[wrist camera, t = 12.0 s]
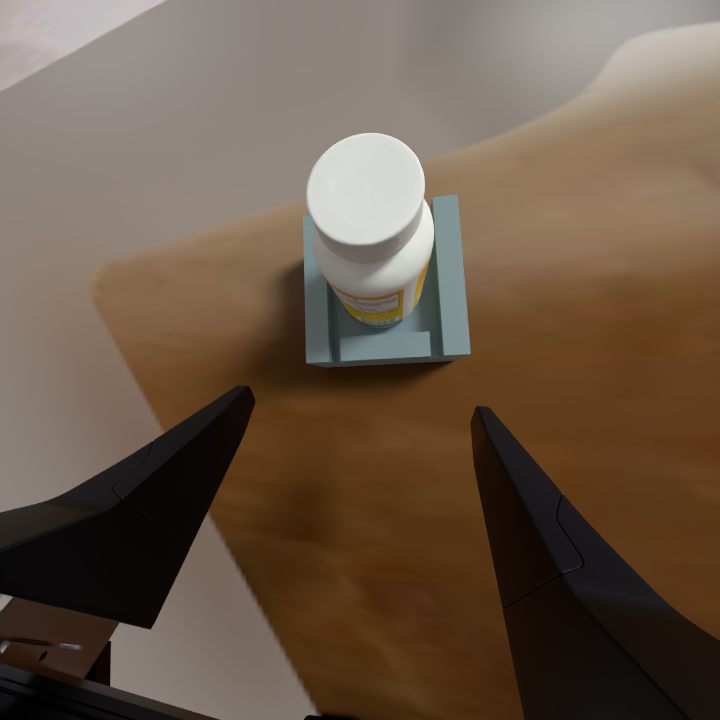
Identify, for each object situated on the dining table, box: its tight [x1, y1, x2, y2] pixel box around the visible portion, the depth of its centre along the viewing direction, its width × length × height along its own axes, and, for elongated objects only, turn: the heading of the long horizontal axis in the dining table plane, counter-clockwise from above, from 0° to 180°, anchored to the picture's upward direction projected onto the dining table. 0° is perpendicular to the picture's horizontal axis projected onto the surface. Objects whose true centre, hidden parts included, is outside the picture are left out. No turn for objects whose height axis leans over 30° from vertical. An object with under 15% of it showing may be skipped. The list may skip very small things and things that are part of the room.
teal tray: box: [303, 194, 471, 368], centre depth 19 cm, size 10×10×4 cm
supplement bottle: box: [306, 133, 434, 328], centre depth 13 cm, size 5×5×10 cm
